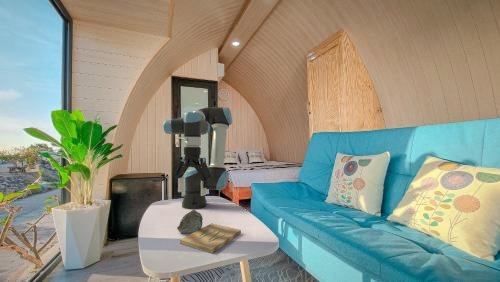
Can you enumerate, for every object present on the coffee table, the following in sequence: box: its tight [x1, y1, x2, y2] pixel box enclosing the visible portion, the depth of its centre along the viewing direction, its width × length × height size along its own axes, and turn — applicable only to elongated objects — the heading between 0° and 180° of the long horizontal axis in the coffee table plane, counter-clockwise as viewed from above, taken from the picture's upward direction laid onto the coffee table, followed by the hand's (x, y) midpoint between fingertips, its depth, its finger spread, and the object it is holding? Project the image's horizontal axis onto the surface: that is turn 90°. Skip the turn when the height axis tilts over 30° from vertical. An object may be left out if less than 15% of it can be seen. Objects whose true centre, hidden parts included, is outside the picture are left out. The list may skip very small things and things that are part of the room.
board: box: [179, 222, 242, 254], centre depth 91 cm, size 20×16×2 cm
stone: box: [176, 209, 203, 234], centre depth 99 cm, size 10×10×10 cm
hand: (191, 193), depth 99 cm, fingers open, 13 cm apart
